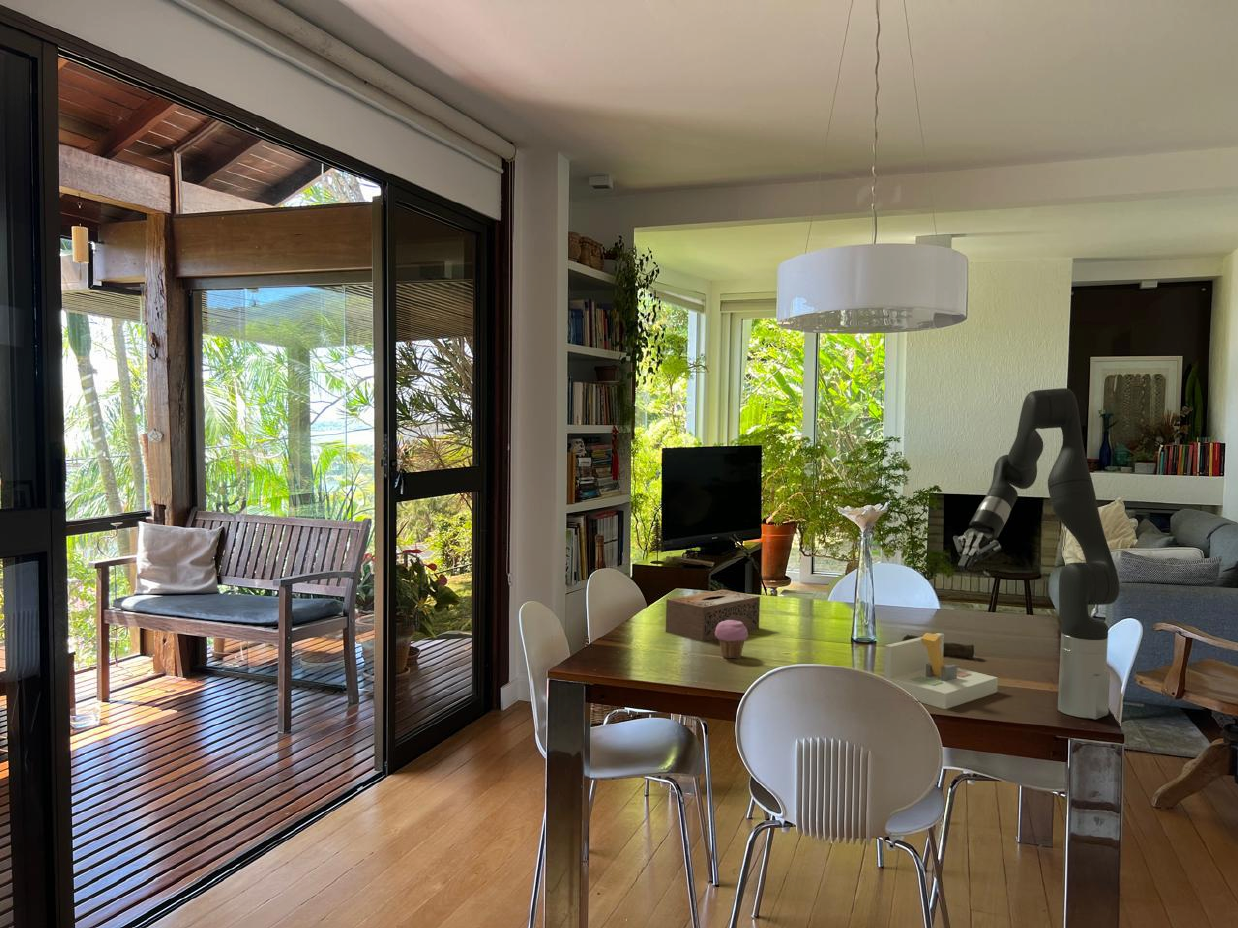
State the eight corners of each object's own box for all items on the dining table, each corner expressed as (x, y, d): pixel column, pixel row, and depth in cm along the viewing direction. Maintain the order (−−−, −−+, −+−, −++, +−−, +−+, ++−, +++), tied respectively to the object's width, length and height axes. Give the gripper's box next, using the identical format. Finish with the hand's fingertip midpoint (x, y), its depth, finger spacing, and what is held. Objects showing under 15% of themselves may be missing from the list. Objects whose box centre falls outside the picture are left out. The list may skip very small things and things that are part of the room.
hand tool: (974, 658, 251) (975, 641, 251) (972, 661, 247) (973, 643, 247) (902, 648, 260) (903, 632, 260) (900, 651, 256) (900, 635, 256)
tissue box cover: (702, 642, 263) (703, 607, 262) (665, 632, 273) (666, 599, 273) (759, 629, 281) (759, 596, 280) (722, 620, 291) (723, 589, 291)
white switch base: (936, 676, 231) (938, 632, 230) (997, 692, 219) (999, 646, 218) (883, 691, 217) (885, 645, 217) (945, 709, 205) (947, 660, 204)
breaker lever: (936, 669, 219) (926, 632, 216) (949, 672, 217) (940, 635, 213) (930, 674, 218) (920, 638, 215) (944, 678, 215) (934, 641, 212)
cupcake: (749, 661, 242) (750, 623, 241) (716, 661, 242) (717, 623, 241) (744, 652, 251) (745, 616, 250) (712, 652, 251) (713, 615, 250)
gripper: (961, 506, 242) (933, 556, 235) (1009, 510, 232) (981, 563, 225) (971, 524, 246) (944, 575, 239) (1019, 530, 235) (992, 582, 228)
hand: (962, 569), depth 232 cm, fingers closed
